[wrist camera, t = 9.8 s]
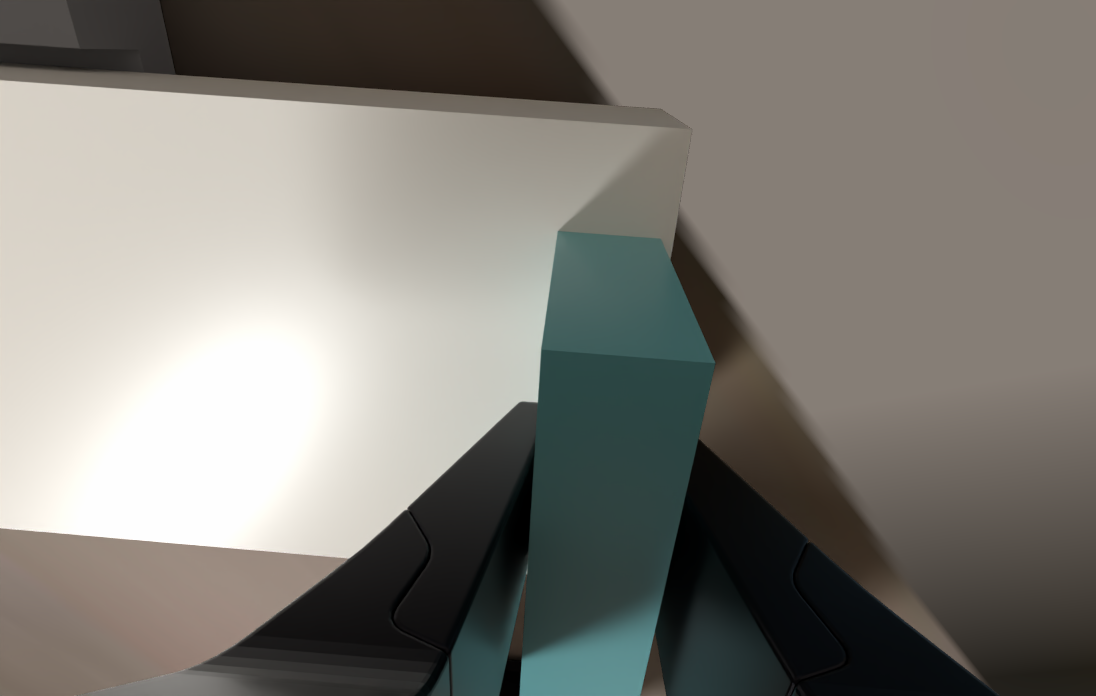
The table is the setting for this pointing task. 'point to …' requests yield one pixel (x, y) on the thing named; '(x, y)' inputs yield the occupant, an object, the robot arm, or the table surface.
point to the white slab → (350, 327)
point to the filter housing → (86, 34)
